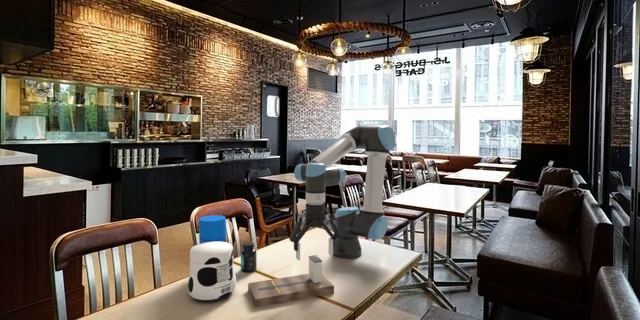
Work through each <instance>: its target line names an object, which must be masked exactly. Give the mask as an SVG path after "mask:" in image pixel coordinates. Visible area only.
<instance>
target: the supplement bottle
mask: <svg viewBox="0 0 640 320" xmlns="http://www.w3.org/2000/svg"><path fill="white" fill-rule="evenodd" d="M257 255H258V253H257V249H256V248H255V243H254V242H251V241H248V242H244V243H242V249H241V251H240V271H241V272H242V273H244V274H251V273H255V272H256V271H257V266H258V265H257V263H258V262H257V261H258V260H257Z"/></svg>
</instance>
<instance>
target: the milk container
mask: <svg viewBox="0 0 640 320" xmlns="http://www.w3.org/2000/svg"><path fill="white" fill-rule="evenodd" d="M236 277H237V276H236V272H235V268H234V247H233V245H232V244H231V243H229V242H227V241H226V242H206V243H201V244H199V243H198V244H196V245H194V246H192V247H190V251H189V276H188V281H187V290H188V293H189V296H190V297H191V298H192V299H194V300H197V301H200V302H212V301H213V302H214V301H218V300H222V299H224V298H227V297H228V296H230V295H231V294H232V293H233V292H234V290H235V288H236V285H237V278H236Z"/></svg>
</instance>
